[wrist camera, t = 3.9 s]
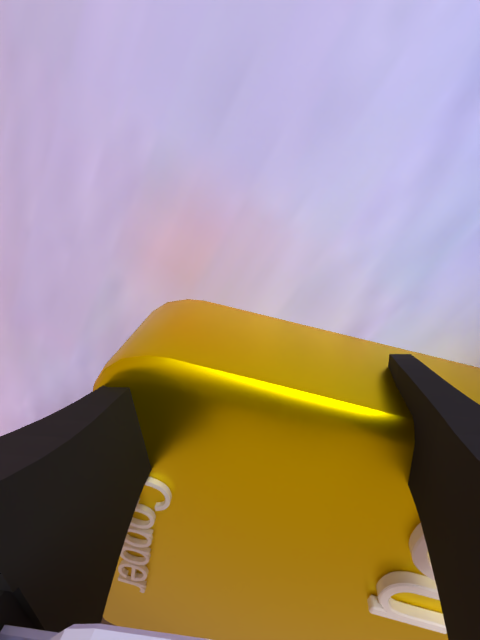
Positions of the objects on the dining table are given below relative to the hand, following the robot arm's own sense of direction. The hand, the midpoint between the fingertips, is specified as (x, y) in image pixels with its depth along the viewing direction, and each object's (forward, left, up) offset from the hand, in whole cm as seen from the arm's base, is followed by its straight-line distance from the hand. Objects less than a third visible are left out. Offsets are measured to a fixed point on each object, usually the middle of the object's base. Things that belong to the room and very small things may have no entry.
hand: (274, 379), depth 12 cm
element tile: (-1, +6, -2) cm, 7 cm away
